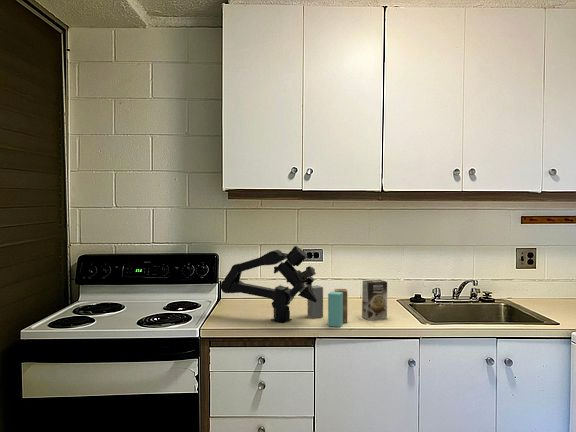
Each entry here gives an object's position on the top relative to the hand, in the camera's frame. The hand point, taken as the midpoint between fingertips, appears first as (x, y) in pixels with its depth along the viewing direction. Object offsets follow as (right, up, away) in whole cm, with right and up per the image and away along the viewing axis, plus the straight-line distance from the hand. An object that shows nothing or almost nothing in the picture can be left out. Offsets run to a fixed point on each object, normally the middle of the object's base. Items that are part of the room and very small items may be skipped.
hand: (316, 301), depth 182 cm
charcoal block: (0, -9, +12) cm, 15 cm away
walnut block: (+11, -9, +4) cm, 15 cm away
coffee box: (+26, -9, +9) cm, 29 cm away
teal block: (+8, -9, -2) cm, 12 cm away
